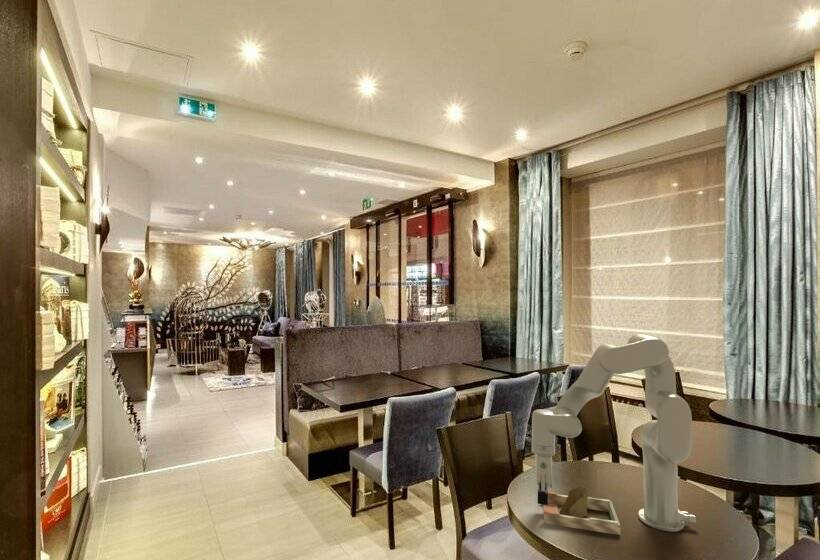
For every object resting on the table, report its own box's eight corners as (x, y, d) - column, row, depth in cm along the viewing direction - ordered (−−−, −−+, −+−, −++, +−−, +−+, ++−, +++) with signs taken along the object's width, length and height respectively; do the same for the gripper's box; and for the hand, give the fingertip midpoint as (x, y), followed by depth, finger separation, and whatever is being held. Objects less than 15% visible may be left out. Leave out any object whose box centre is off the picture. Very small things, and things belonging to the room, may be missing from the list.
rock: (561, 517, 133) (594, 516, 132) (554, 488, 138) (586, 486, 137) (557, 523, 141) (587, 522, 140) (551, 495, 146) (580, 494, 145)
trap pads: (556, 503, 147) (556, 492, 147) (559, 525, 133) (559, 514, 133) (543, 501, 148) (543, 491, 148) (544, 523, 134) (544, 512, 134)
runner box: (611, 510, 142) (611, 500, 142) (620, 535, 128) (620, 523, 128) (543, 501, 148) (543, 491, 148) (544, 523, 134) (544, 512, 134)
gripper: (556, 457, 134) (555, 516, 133) (554, 441, 148) (553, 495, 147) (531, 454, 136) (530, 512, 135) (531, 439, 150) (531, 491, 149)
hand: (542, 503), depth 141 cm, fingers closed
